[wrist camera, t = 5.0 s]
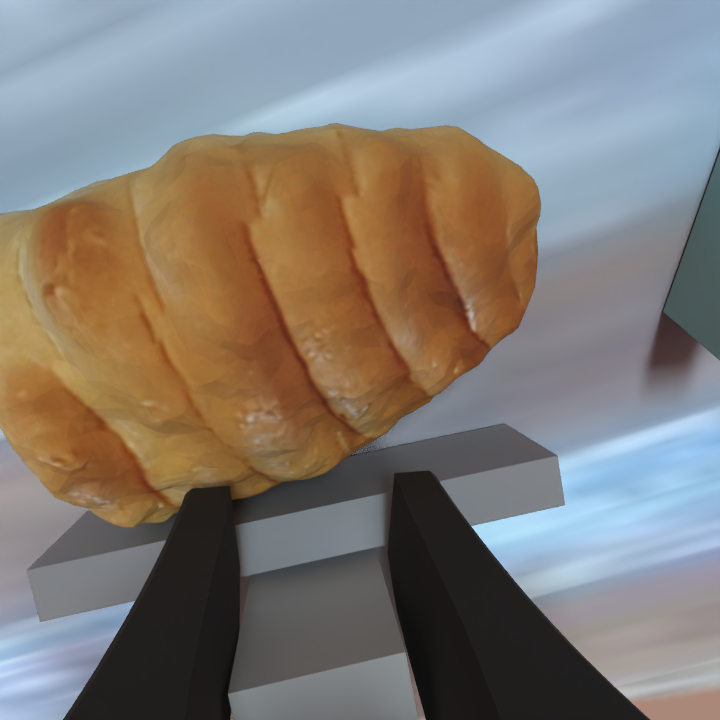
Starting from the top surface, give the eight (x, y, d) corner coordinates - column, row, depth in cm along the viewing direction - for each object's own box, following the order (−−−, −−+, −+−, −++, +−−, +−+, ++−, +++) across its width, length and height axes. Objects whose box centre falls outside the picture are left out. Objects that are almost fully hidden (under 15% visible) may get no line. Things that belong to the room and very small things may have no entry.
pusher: (505, 423, 14) (647, 510, 8) (530, 578, 15) (681, 763, 9) (86, 511, 14) (-80, 673, 8) (127, 670, 14) (-2, 940, 8)
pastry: (471, 1, 10) (573, 24, 6) (539, 330, 13) (625, 444, 10) (-42, 218, 10) (-172, 331, 7) (161, 470, 14) (133, 616, 11)
